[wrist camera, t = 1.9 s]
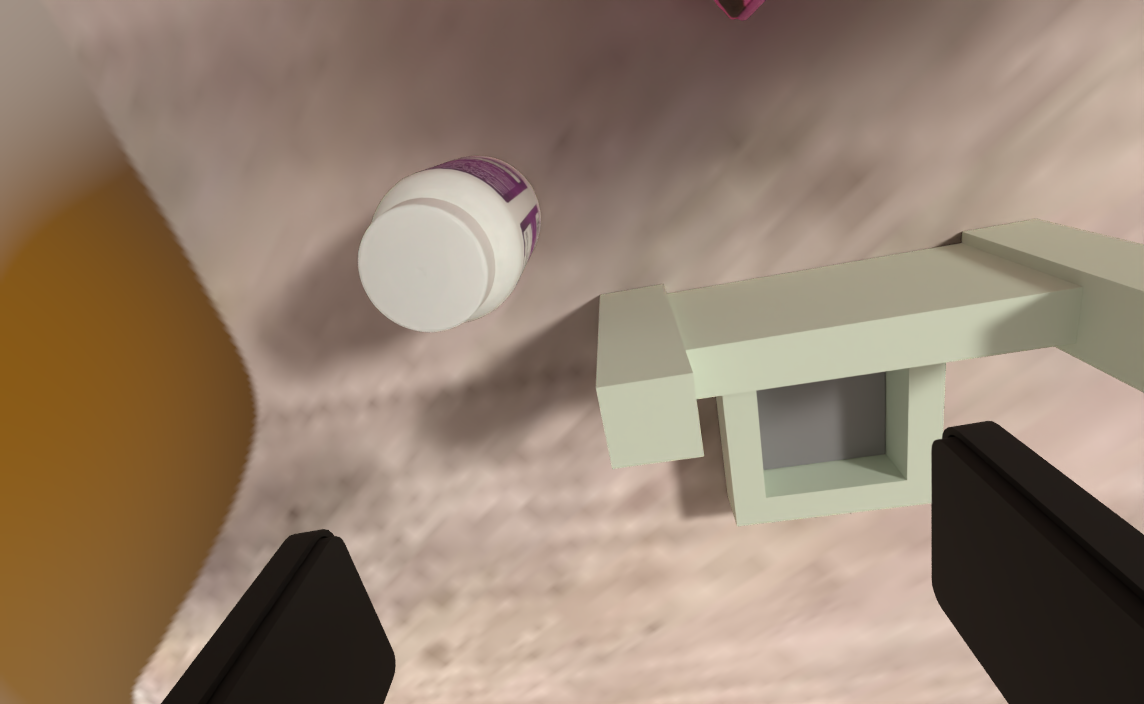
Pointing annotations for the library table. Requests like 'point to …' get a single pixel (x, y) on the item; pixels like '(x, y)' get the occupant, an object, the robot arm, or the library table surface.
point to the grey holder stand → (854, 360)
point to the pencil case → (739, 8)
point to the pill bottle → (449, 243)
